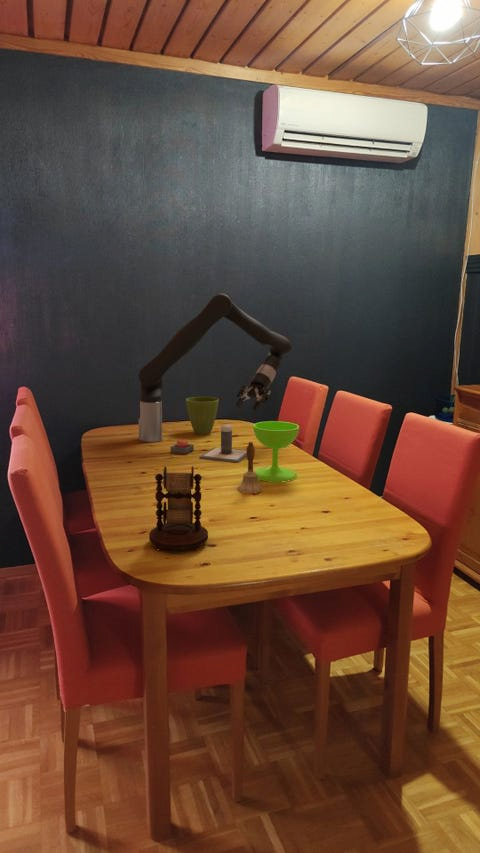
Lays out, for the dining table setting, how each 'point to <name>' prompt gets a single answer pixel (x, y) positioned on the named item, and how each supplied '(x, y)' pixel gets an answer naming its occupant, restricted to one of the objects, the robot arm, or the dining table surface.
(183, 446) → the button
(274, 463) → the wineglass
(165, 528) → the scroll
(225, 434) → the canister
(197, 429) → the flower pot
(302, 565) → the dining table surface
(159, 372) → the robot arm
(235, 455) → the board
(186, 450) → the button base
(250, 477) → the hand bell
